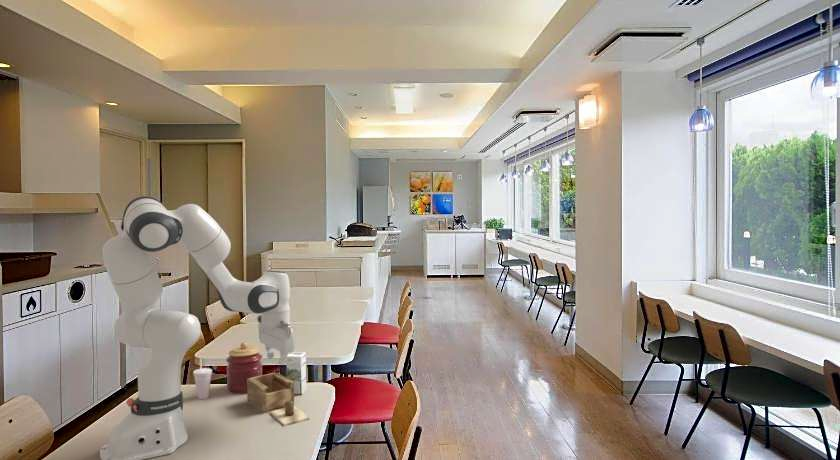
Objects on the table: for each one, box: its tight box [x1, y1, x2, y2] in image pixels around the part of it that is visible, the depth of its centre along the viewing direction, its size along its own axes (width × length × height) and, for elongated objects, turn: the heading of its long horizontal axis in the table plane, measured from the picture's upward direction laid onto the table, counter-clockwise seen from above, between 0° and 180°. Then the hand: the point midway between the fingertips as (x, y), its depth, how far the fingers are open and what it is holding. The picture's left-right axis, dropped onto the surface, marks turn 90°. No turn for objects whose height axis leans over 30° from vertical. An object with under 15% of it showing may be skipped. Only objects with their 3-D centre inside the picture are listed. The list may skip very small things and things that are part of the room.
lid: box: [269, 401, 310, 427], centre depth 170 cm, size 8×13×5 cm
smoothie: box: [192, 358, 213, 400], centre depth 188 cm, size 6×6×14 cm
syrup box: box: [286, 351, 307, 396], centre depth 192 cm, size 6×6×14 cm
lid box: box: [246, 371, 295, 414], centre depth 181 cm, size 11×14×8 cm
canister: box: [225, 341, 263, 395], centre depth 196 cm, size 13×13×18 cm
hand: (276, 361), depth 171 cm, fingers open, 8 cm apart
